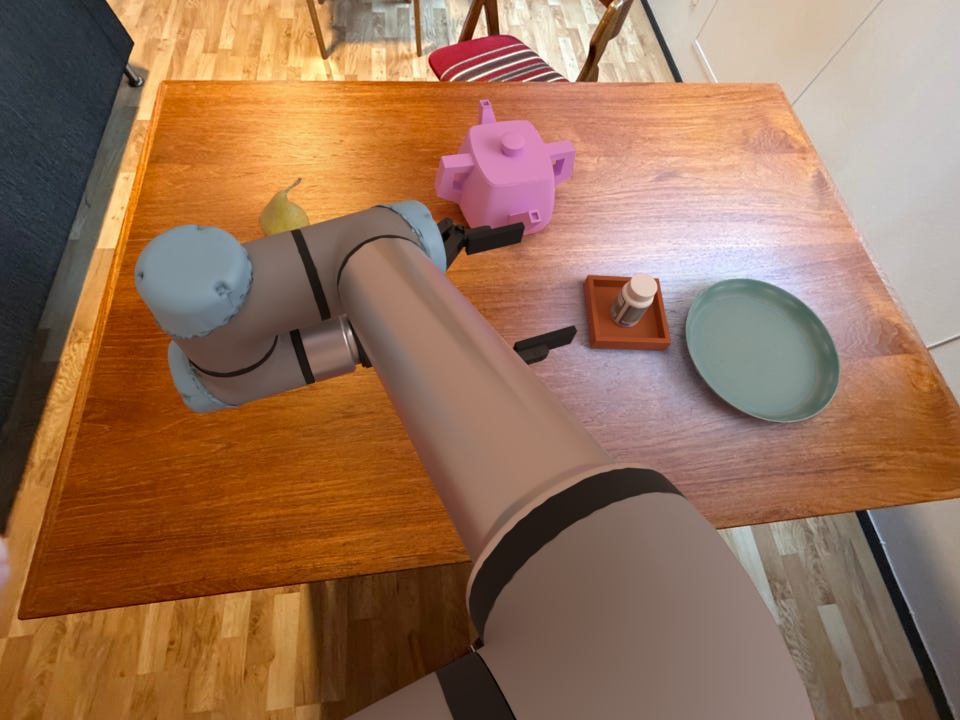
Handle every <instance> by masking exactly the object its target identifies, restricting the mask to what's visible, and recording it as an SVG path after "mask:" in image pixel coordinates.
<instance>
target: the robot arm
mask: <svg viewBox="0 0 960 720" xmlns="http://www.w3.org/2000/svg"><path fill="white" fill-rule="evenodd" d="M524 229H525V226H524V224H523V222H519V223H515V224H511V225H506V226H502V227H498V228H494V229H491V226H488V225H484V226H481V227H476V228H468V229H466V226H465V225H464V224H461V223H456V224H454V219H453V218H452V217H448V216H447V217H444V218H442V219H440V221H439V222H437V221H436V220H434V218H433V216H432V213H431V210H429V208H428V207H427V206H426V205H425V204H424V203H423V202H421V201H419V200H416V199H406V200H402V201H396V202H391V203H379V204H375V205H373V206H371V207H370V208H366V209H362V210H359V211H356V212H352V213H348V214H344V215H342V216H338V217H335V218H331V219H327V220H324V221H320V222H316V223H313V224H309V226H306V227H302V228H299V229H294V230H291V231H290V230H289V231H285V232H281V233H278V234H274V235H270V236H267V237H266V236H262V237H259V238H256V239H252V240H249V241H245V242H240V241H238V239H237V238H235V236H233V235H232V234H231V233H230V232H229V231H226V230H224V229H223V228H221V227H218V226H214V225H209V226H207V225H199V224H195V223H187V224H183V225H182V224H181V225H178V226H174V227H172V228H169V229H167V230H164V231H162V232H161V233H159V234H158V235H156V236H155V237H154V238H153V239H152V240H150V241H148V243H147V244H146V246H145V247H144V248H143V249H142V251H141V252H140V254H139V256H138V257H137V260H136V263H135V267H134V273H133V275H134V276H133V277H134V286H135V288H136V290H137V293H138V295H139V297H140V298H141V299H142V301H143V303H144V304H145V305H146V307H147V308H148V310H149V311H150V313H151V314H152V315H153V319H154V321H155V323H156V325H157V326H158V327H159V328H161V330H162V331H163V332H164V333H166V334H167V336H168V337H169V338H170V339H171V341H170V342H169V345H168V347H167V362H168V367H169V371H170V376H171V378H172V382H173V384H174V387H175V389H176V391H177V393H178V394H179V395H180V396H181V400H182V401H183V403H184V405H185V406H186V407H187V408H189V410H191V411H193V412H195V413H198V414H207V413H211V412H216V411H221V410H225V409H235V408H240V407H242V406H244V405H246V404H249V403H253V402H256V401H259V400H262V399H266V398H269V397H273V396H275V395H279V394H283V393H285V392H289V391H293V390H296V389H299V388H303V387H306V386H308V385H312V384H317V383H321V382H324V381H328V380H331V379H335V378H338V377H343V376H345V375H348V374H353V373H355V372H356V370H357V365H361V367H362V368H365V369H366V370H367V369H370V368H373V370H374V371H375V374H376V375H377V377H378V379H379V382H380V383H381V385H382V387H383V390H384V391H385V394H386V395H387V397H388V399H389V401H390V403H391V405H392V407H393V409H394V411H395V413H396V415H397V417H398V419H399V421H400V423H401V425H402V426H403V429H404V431H405V433H406V434H407V437H408V438H409V441H410V443H411V445H412V447H413V448H414V450H415V453H416V454H417V456H418V459H419V460H420V462H421V464H422V466H423V469H424V470H425V472H426V474H427V476H428V478H429V480H430V482H431V484H432V486H433V488H434V490H435V491H436V494H437V495H438V498H439V500H440V502H441V504H442V505H443V508H444V510H445V512H446V513H447V515H448V517H449V519H450V521H451V523H452V525H453V527H454V529H455V531H456V534H457V535H458V537H459V539H460V541H461V543H462V545H463V547H464V549H465V551H466V552H467V555H468V557H469V559H470V561H471V563H472V565H473V567H472V570H471V572H470V575H469V578H468V581H467V584H466V591H465V606H466V607H465V608H466V610H467V612H468V615H469V617H470V620H471V622H472V624H473V626H474V629H475V630H476V633H477V635H478V637H479V640H480V642H481V643H482V644H481V645H483V646H482V647H480V648H478V649H476V650H475V651H471V652H469V653H468V654H466V655H464V656H461V657H460V658H457V659H456V660H454V661H452V662H451V663H448V664H447V665H445V666H443V667H441V668H439V669H437V670H434V671H433V672H431V673H428V674H427V675H425V676H423V677H421V678H418V679H417V680H416V681H413V682H411V683H410V684H408V685H406V686H404V687H402V688H400V689H398V690H396V691H394V692H393V693H391V694H390V695H387V696H385V697H384V698H381V699H379V700H378V701H375V702H374V703H372V704H370V705H368V706H366V707H364V708H363V709H360V710H358V711H357V712H355V713H353V714H352V715H349V716H347V717H346V718H343V720H816V717H815V715H814V711H813V708H812V705H811V701H810V698H809V695H808V692H807V688H806V686H805V684H804V681H803V679H802V677H801V675H800V673H799V670H798V668H797V666H796V663H795V661H794V658H793V657H792V655H791V652H790V650H789V648H788V646H787V644H786V642H785V639H784V637H783V635H782V632H781V630H780V628H779V626H778V623H777V621H776V619H775V617H774V616H773V613H772V612H771V610H770V609H769V607H768V605H767V604H766V601H765V600H764V598H763V597H762V595H761V593H760V591H759V590H758V588H757V586H756V585H755V583H754V581H753V579H752V578H751V576H750V574H749V573H748V572H747V569H745V567H744V565H742V563H741V562H740V560H739V559H738V558H737V556H736V555H735V553H734V552H733V551H732V549H731V548H730V547H729V545H728V543H727V542H726V541H725V539H724V538H723V537H722V535H721V534H720V532H719V531H718V529H716V527H715V526H714V525H713V524H712V523H711V522H710V521H709V520H708V519H707V518H706V517H705V516H704V515H703V514H702V512H701V511H700V510H699V509H698V508H697V507H696V506H695V505H694V504H693V503H692V502H691V501H690V500H689V499H688V498H687V497H686V496H685V495H684V494H683V492H681V490H680V489H678V488H677V486H676V485H674V484H673V482H672V481H670V480H669V479H668V478H667V477H666V476H665V475H664V474H663V473H662V472H661V471H660V470H658V469H656V468H655V467H654V466H652V465H648V464H646V463H641V462H633V461H627V462H625V461H623V462H617V460H615V458H614V457H613V456H612V455H611V454H610V453H609V452H608V451H607V449H605V448H604V446H603V445H602V444H601V443H600V442H599V441H598V440H597V439H596V438H595V436H593V434H592V433H591V432H590V431H589V430H588V429H587V428H586V426H584V425H583V424H582V422H580V420H579V419H578V418H577V417H576V415H574V414H573V413H572V411H571V410H570V409H569V408H568V407H567V406H566V405H565V404H564V403H563V402H562V401H561V399H560V398H559V397H557V395H556V394H555V393H554V392H553V390H551V389H550V388H549V386H548V385H547V384H546V383H545V382H544V381H543V380H542V379H541V378H540V376H538V374H537V373H536V372H535V371H534V370H533V369H532V368H531V367H530V365H534V364H537V363H540V362H543V361H545V360H546V359H547V357H548V356H549V354H550V351H551V350H554V349H557V348H561V347H565V346H569V345H571V344H572V342H573V340H574V339H575V337H576V335H577V333H578V329H577V327H576V325H575V324H573V325H569V326H566V327H562V328H559V329H556V330H555V329H554V330H553V331H552V330H551V331H549V332H545V333H542V334H538V335H535V336H532V337H528V338H524V339H521V340H517V341H515V342H514V344H513V347H512V346H511V345H510V344H509V343H508V342H507V341H506V340H505V338H504V337H503V336H502V335H501V334H500V333H499V332H498V331H497V330H496V329H495V328H494V327H493V326H492V324H491V323H490V322H489V321H488V320H487V319H486V318H485V316H483V315H482V314H481V313H480V311H478V309H477V307H475V305H473V304H472V302H471V301H469V299H468V298H467V297H466V296H465V295H464V294H463V293H462V292H461V291H460V290H459V288H458V287H457V286H456V285H455V284H454V283H453V282H452V281H451V279H449V277H448V276H447V275H446V272H448V270H449V268H450V267H451V266H452V264H453V263H454V262H455V260H456V259H457V258H458V257H459V255H460V253H461V252H462V251H463V249H464V248H465V249H464V251H465V254H466V256H471V255H476V254H480V253H484V252H489V251H491V250H497V249H499V248H500V249H501V248H504V247H507V246H512V245H516V244H521V243H522V240H523V236H524V235H523V233H524Z"/></svg>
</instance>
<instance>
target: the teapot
mask: <svg viewBox="0 0 960 720" xmlns="http://www.w3.org/2000/svg"><path fill="white" fill-rule="evenodd" d="M576 153H577V150H576V147H575V146H574V144H573V142H572V140H571V139H565V140H559V141H554V142H547V143H545V141H544V140H543V138H542V136H541V134H540V133H539V131H538V130H537V128H536V127H535V126H534V125H533V124H532V123H531V122H530V121H529V120H526V119H514V120H504V121H503V120H502V121H497V118H496V115H495V113H494V110H493V105H492V103H491V101H490V100H489V99H480V100H479V101H478V123H477V125H476V124H475V125H473V126H470V127H469V129H468V130H467V132H466V134H465V136H464V137H463V140H462V141H461V143H460V145H459V148H458V151H457V154H449V155H448V154H447V155H441V156H440V160H439V163H438V164H439V165H438V167H437V170H436V171H437V172H436V176H435V180H434V182H433V185H434V190H435V193H436V197H438V198H440V199H443V200H447V201H449V202H452V203H454V204H458V206H459V208H460V210H461V212H462V215H463V217H464V219H465V221H466V223H467V224H468V226H469V229H471V228H476V227H481V226H484V225H488V226H491V229H494V228H498V227H502V226H506V225H511V224H515V223H519V222H523V224H524V226H525V229H524V233H523V236H527V235H531V234H536V233H538V232H540V231H541V230H543V229H544V228H546V227H547V225H549V223H550V222H551V220H552V216H553V212H554V207H555V195H556V191H555V189H556V187H557V186H559V185H561V184H562V183H564V182H566V181H568V180H570V179H571V178H572V177H573V171H574V165H575V161H576V160H575V159H576ZM552 162H555V163H554V164H553V163H552Z"/></svg>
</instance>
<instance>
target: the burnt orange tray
mask: <svg viewBox="0 0 960 720" xmlns="http://www.w3.org/2000/svg"><path fill="white" fill-rule="evenodd" d="M632 277H633V276H619V275H617V276H616V275H598V274H597V275H596V274H587V275H586V278H585V280H584V281H583V284H582V286H583V293H584V303H585V310H586V319H587V320H586V321H587V326H588V327H587V328H588V335H589V344H590V349H597V350H598V349H601V350H625V351H626V350H629V351H630V350H631V351H656V352H657V351H658V352H659V351H661V352H664V351H666V350H667V348H668V347H669V346H670V345H671V344H672V340H671V335H670V329H669V325H668V319H667V314H666V309H665V303H664V299H663V293H662V289H661V282H660V278H658V277H652V278H653V279H654V280H655V281H656V283H657V291H656V293H655V295H654V299H653V301H652V303H651V305H650V306H649V307H648V309H647V310H646V312H645V313H644V314H643V316H642V317H641V318H640V320H639V321H638V323H637V324H635V325H634V326H632V327H622V326H620V325H618V324H617V323H615V322H614V321H613V319H612V318H611V315H610V309H611V307H612V305H613V303H614V301H615V300H616V298H617V296H618V295H619V293H620V291H621V290H622V288H623V286H624V285H625V284H626V283H627V282H629V281H630V280H631V278H632Z"/></svg>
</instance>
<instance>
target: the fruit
mask: <svg viewBox="0 0 960 720" xmlns="http://www.w3.org/2000/svg"><path fill="white" fill-rule="evenodd" d="M302 180H303V178H302V177H298V178H297V180H296V181H295V182H294V183H293V184H291V185H289V186H288V187H287V188H285V189H283V190H279V191H278V192H277V193H275V194H274V195H273V196H272V197H271V198H270V200H269V201H268V203H266V205H265V206H264V207H263V208H262V209H261V211H260V215H259V226H260V229H261V232H262V233H263V235H264V237H267V236H270V235H274V234H278V233H281V232H285V231H289V230H290V231H291V230H294V229H299V228H302V227H306V226H309V225H310V219H309V216H308V214H307V213H306V211H305V210H304V208H302V207H301V206H300V205H299V204H297V203H296V202H293V201H291V200H289V198H288V193H289V192H290V191H291V190H292V189H294V188H295V187H297V186H298V185H299V184H300V183H301V182H302Z"/></svg>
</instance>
